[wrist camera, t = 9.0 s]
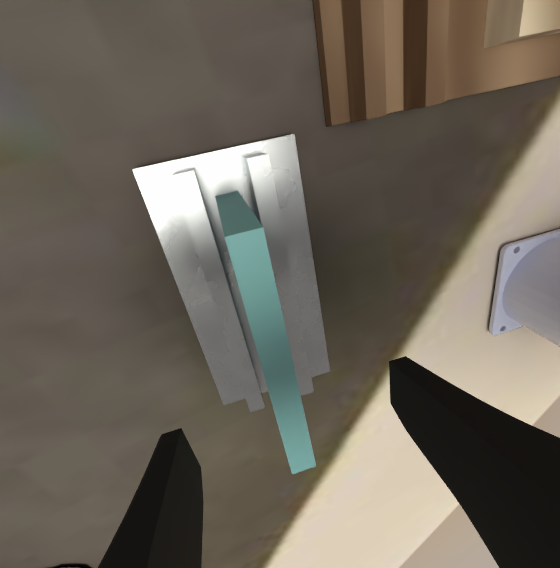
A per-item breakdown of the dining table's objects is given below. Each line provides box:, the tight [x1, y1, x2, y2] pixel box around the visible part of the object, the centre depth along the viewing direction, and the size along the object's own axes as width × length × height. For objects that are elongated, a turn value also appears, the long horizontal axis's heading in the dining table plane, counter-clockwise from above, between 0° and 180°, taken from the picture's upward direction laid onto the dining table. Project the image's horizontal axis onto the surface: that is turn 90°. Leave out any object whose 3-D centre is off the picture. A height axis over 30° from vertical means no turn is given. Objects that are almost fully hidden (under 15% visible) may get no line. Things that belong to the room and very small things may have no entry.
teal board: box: [215, 191, 316, 474], centre depth 15 cm, size 1×12×8 cm, turn 11°
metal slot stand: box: [132, 134, 330, 412], centre depth 18 cm, size 8×16×3 cm, turn 11°
